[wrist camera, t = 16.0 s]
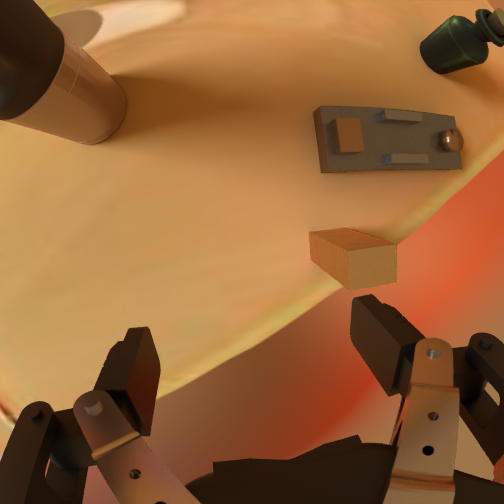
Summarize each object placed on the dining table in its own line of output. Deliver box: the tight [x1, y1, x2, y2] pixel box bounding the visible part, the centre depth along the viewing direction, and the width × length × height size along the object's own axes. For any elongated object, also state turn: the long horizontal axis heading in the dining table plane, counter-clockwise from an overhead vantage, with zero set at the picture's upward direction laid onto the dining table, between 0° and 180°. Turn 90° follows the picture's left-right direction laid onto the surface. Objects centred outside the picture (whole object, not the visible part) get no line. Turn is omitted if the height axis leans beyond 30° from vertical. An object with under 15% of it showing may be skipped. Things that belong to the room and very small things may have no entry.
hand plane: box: [313, 106, 463, 173], centre depth 34 cm, size 22×8×5 cm, turn 96°
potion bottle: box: [420, 8, 504, 74], centre depth 25 cm, size 8×8×18 cm
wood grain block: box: [309, 228, 397, 291], centre depth 32 cm, size 5×4×13 cm
